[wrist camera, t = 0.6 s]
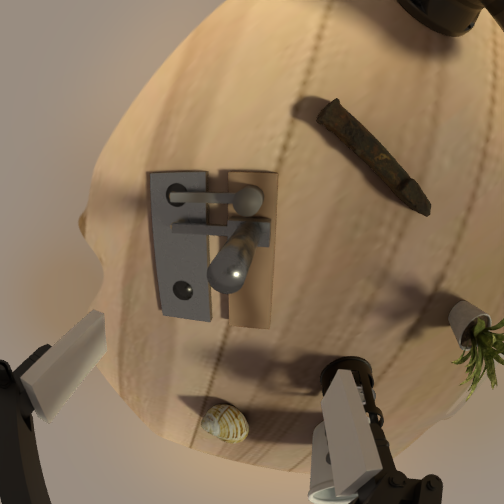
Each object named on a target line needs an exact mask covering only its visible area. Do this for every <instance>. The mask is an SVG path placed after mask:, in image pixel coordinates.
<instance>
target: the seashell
mask: <svg viewBox="0 0 504 504" xmlns="http://www.w3.org/2000/svg"><path fill="white" fill-rule="evenodd" d="M201 427H202V428H203V429H204V430H206V431H207V432H208V433H210V434H212V435H214V436H216V437H217V438H219V439H220V440H222V441H224V442H226V443H238V442H241V441H243V440H244V439H245V438H246V437H247V436H248V433H249V425H248V423H247V421H246V419H245V417H244V415H243V414H242V413H241V412H240V411H239V410H238V409H236V408H235V407H234V406H230V405H224V404H220V405H215V406H213V407H212V408H211V409H209V410H208V412H207V413H206V415H205V416H204V418H203V419H202V421H201Z"/></svg>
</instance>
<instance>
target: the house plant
mask: <svg viewBox="0 0 504 504" xmlns="http://www.w3.org/2000/svg"><path fill="white" fill-rule="evenodd" d="M448 320H449V323H450V325H451V328H452V330H453V332H454V334H455V337H456V339H457V341H458V344H459V346H460V348H461V349H462V350H464V352H463V354H462V355H461V357H460V358H459V359H458V360H456V361H454V362H452V363H454V364H462V363H464V362H465V361H466V360H467V359H468V358H469V357H470V355H471V359H470V362H469V365H467V366H465V367H467V370H466V373H468V372H469V375H468V377H467V379H466V381H464V382H463V383H461V384H460V385H462V384H464V383H467V382H468V381H470V380H471V379H472V378H473V377H474V379H473V383H472V385H471V387H470V389H471V388H472V390H471V392H470V394H469V396H468V397H467V399H466V401H467V400H468V399H469V397H470V396H471V395H472V393H473V392H474V390H475V388H476V386H477V383H478V382H479V381H480V379H481V378H482V376H483V374H484V372H485V370H486V369H487V375H488V378H489V379H490V381H491V386H492V388H494V385H495V384H496V385H497V379H496V375H495V367H494V360H493V358H494V359H495V360H496V361H497V362H499V363H500V364H502V365H504V360H503V359H502V358H501V357H500V356H499V355H498V354H499V353H502V354H503V355H504V343H503V342H502V341H504V335H503V334H504V333H502V334H496V333H492V332H490V330H497V329H499V328H501V327H503V326H504V319H503V320H501V321H500V322H499V323H498V324H497V325H495V326H492V327H491V317H490V316H489V315H488V314H487V313H485V312H484V311H482V310H480V309H479V308H477V307H476V306H474V305H472V304H471V303H469V302H467V301H464V300H463V301H460V302H458V303H457V304H456V305H455V306H454V307H453V308H452V310H451V311H450V314H449V318H448ZM477 346H478V352H477ZM491 346H492V347H494V348H495V349H497V350H498V351H497V350H495V349H493V348H492V347H491ZM468 350H470V352H469V353H468V354H467V355H466V356H464V357H463V355H464V353H465V351H468ZM471 353H472V354H471ZM483 356H484V357H483ZM462 357H463V358H462ZM483 358H484V360H485V368H484V370H483V373H482V375H481V377H480V378H479V376H480V372H481V367H482V363H483ZM475 364H476V367H475ZM474 367H475V371H474V372H472V371H473V368H474ZM472 373H473V374H472ZM471 374H472V375H471ZM470 375H471V376H470ZM470 389H469V390H470ZM469 390H468V391H469Z"/></svg>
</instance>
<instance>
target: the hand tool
mask: <svg viewBox="0 0 504 504" xmlns="http://www.w3.org/2000/svg"><path fill="white" fill-rule="evenodd" d="M316 122H317V123H320V124H324V125H325V127H326V128H327V130H328V131H332V132H333V133H334V134H335V135H336V136H337V137H338V138H339V139H340V140H341V141H342V142H343V143H345V144H346V146H347V147H348V148H351V149H352V150H353V152H354V153H356V154H357V155H358V156H359V157H360V158H361V159H362V160H363V161H364V162H365V163H366V164H367V165H368V166H369V167H371V168H372V169H373V170H374V171H375V172H376V174H377V175H378V176H379V177H380V178H381V179H382V180H383V181H384V182H385V183H386V184H387V185H388V186H389V187H390V188H391V190H392V191H393V193H394V194H396V195H397V196H398V197H399V198H400V199H401V200H402V201H403V202H404V203H406V204H407V205H408V206H409V207H410V208H411V209H412V210H413V209H414V210H416V211H417V212H418V213H420V214H422V215H424V216H426V217H427V216H429V215H430V210H431V203H430V202H429V200H428V199H427V197H426V195H425V194H424V193H423V191H422V189H421V188H420V186H419V185H418V183H417V182H416V181H415V180H414V179H411V178H410V176H409V175H408V174H407V172H406V171H405V170H404V169H403V168H402V167H401V166H400V165H399V164H398V163H397V161H396V160H395V159H394V158H393V157H392V155H391V154H390V153H389V152H388V151H387V150H386V148H385V147H384V146H383V145H382V144H381V143H380V142H379V141H378V140H377V139H376V138H375V137H374V136H373V135H372V134H371V133H370V132H369V131H368V130H367V129H366V128H365V127H364V126H363V125H362V124H361V123H360V122H359V121H358V120H357V119H355V118H354V117H353V116H352V115H351V114H350V113H349V112H348V111H347V110H346V109H344V108H343V107H342V106H341V104H340V101H339V99H338V98H336V99H334V100H333V101H332V102H330V103H329V104H328V105H327V106H326V107H325V108H324V109H323V110H322V111H321V112H320V113H319V115H318V117H317V120H316Z"/></svg>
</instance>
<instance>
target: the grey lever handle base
mask: <svg viewBox="0 0 504 504" xmlns="http://www.w3.org/2000/svg"><path fill="white" fill-rule="evenodd" d="M277 190H278V173H265V172H228V193H226V192H171V193H170V194H169V198H170V202H187V203H227V204H228V219H229V218H230V217H231V216H233V217H253V218H271V219H272V221H271V242H270V246H269V247H257V249H256V252H255V255H254V257H253V260H252V263H251V265H250V268H249V271H248V273H247V276H246V279H245V281H244V284H243V286H242V288H241V289H240V290H238V291H237V292H235V293H232V294H229V326H238V327H248V328H258V329H269V328H270V318H271V304H272V288H273V271H274V254H275V234H276V213H277Z"/></svg>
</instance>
